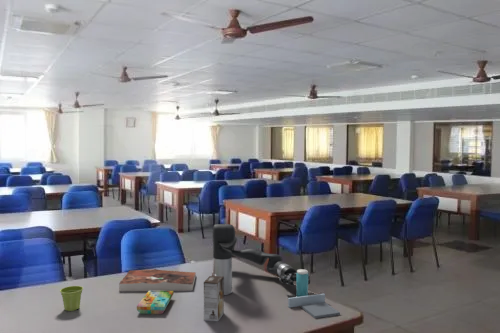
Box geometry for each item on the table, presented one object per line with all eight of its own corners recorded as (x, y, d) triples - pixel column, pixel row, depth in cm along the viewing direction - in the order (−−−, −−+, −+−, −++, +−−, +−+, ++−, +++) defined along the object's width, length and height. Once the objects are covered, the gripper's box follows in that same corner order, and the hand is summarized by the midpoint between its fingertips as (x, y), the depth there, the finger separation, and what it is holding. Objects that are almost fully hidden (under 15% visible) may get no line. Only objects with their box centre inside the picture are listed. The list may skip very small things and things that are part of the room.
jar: (299, 300, 203) (299, 273, 202) (294, 296, 208) (294, 269, 207) (310, 299, 205) (310, 271, 204) (304, 295, 210) (304, 268, 209)
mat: (314, 318, 182) (314, 316, 182) (300, 307, 195) (300, 305, 194) (339, 314, 186) (340, 312, 186) (324, 304, 199) (324, 302, 199)
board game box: (195, 277, 240) (195, 268, 239) (192, 291, 216) (192, 281, 216) (129, 277, 238) (129, 268, 237) (119, 292, 215) (119, 282, 214)
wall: (288, 307, 194) (289, 298, 194) (288, 306, 195) (288, 298, 195) (324, 302, 200) (324, 294, 200) (323, 302, 201) (323, 293, 201)
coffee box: (209, 312, 189) (209, 275, 188) (224, 313, 187) (224, 276, 187) (203, 320, 180) (203, 281, 179) (218, 321, 178) (218, 282, 178)
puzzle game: (136, 304, 185) (148, 288, 205) (136, 315, 185) (148, 298, 205) (164, 304, 185) (173, 289, 205) (164, 315, 185) (173, 299, 205)
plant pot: (61, 314, 185) (60, 294, 185) (59, 307, 193) (59, 287, 193) (84, 310, 189) (84, 290, 189) (82, 303, 198) (81, 284, 197)
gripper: (299, 278, 225) (314, 289, 210) (273, 281, 220) (286, 292, 205) (299, 264, 225) (314, 274, 209) (273, 266, 220) (287, 276, 205)
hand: (300, 283), depth 207 cm, fingers open, 8 cm apart
